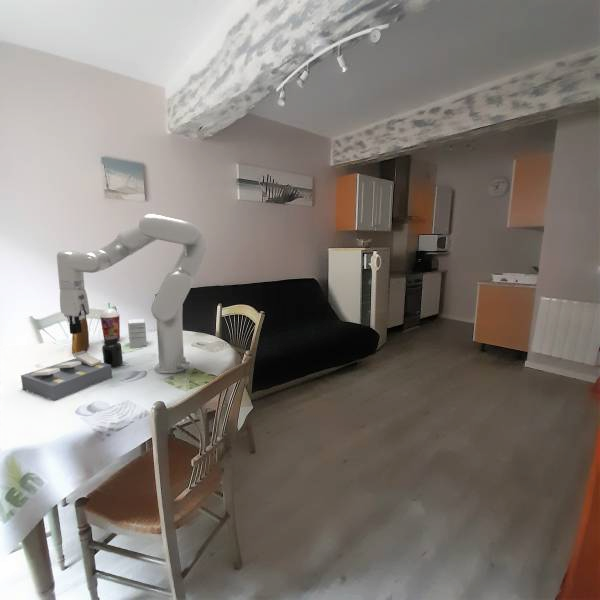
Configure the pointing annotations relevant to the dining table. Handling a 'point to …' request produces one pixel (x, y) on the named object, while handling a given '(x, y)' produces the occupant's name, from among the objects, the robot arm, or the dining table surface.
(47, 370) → the rocker
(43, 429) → the dining table surface
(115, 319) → the smoothie
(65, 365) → the rocker
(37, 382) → the console
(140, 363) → the dining table surface
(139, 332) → the supplement box
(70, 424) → the dining table surface
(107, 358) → the supplement bottle
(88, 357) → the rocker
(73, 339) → the pancake mix bag
